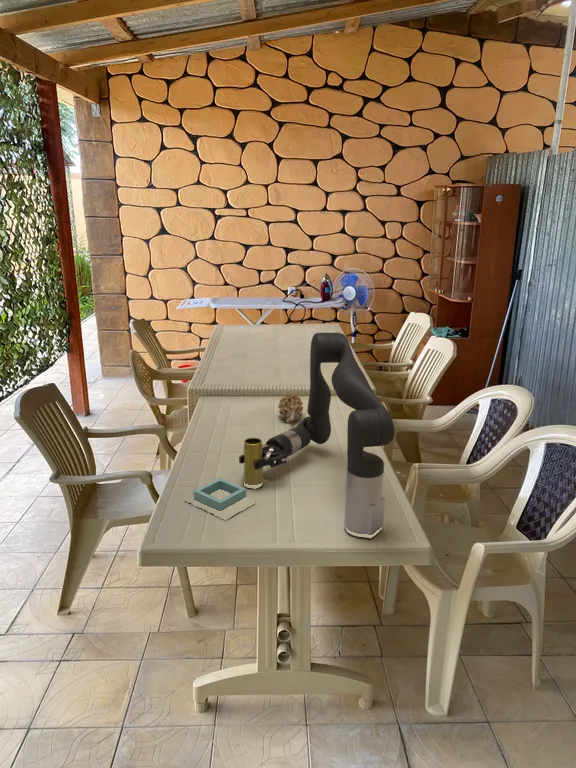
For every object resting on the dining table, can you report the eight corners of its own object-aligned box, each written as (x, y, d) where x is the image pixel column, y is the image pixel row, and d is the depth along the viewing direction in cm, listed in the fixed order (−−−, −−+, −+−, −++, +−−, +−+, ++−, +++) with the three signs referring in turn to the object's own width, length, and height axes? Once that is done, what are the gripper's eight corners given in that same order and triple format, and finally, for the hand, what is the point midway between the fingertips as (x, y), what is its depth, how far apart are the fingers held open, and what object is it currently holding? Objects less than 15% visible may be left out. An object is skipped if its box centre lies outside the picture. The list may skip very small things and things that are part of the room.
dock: (255, 503, 173) (255, 491, 171) (225, 520, 164) (225, 507, 162) (215, 486, 182) (215, 474, 181) (185, 501, 173) (184, 488, 172)
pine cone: (277, 412, 241) (277, 388, 238) (301, 412, 241) (302, 388, 238) (279, 434, 220) (279, 408, 217) (306, 434, 220) (306, 408, 217)
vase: (238, 484, 183) (238, 440, 179) (254, 478, 187) (254, 435, 183) (252, 491, 179) (252, 447, 175) (267, 485, 183) (267, 441, 179)
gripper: (266, 428, 194) (229, 444, 182) (302, 440, 186) (266, 458, 173) (266, 450, 197) (229, 467, 184) (301, 462, 188) (266, 482, 176)
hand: (247, 463), depth 179 cm, fingers closed on vase, 5 cm apart
